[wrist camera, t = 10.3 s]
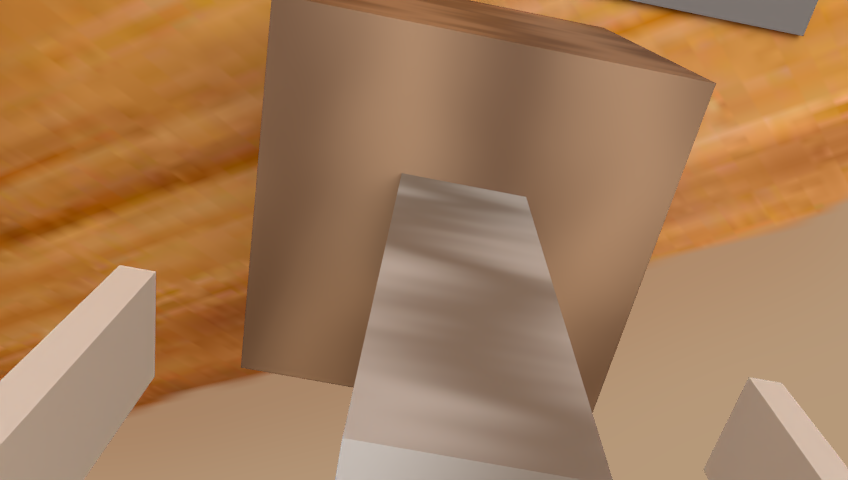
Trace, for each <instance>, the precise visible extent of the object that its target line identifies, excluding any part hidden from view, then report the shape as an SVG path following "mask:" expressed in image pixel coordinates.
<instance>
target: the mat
mask: <svg viewBox="0 0 848 480" xmlns="http://www.w3.org/2000/svg"><path fill="white" fill-rule="evenodd" d="M631 1H636V2H641V3H646V4H651V5H656V6H660V7H665V8H670V9H675V10H680V11H685V12H689V13H694V14H699V15H704V16H709V17H714V18H718V19H723V20H728V21H733V22H738V23H743V24H747V25H752V26H757V27H762V28H767V29H772V30H776V31H781V32H786V33H791V34H796V35H801V36H803V35H804V33H805V30H806V28H807V25H808V23H809V21H810V18H811V16H812V14H813V11H814V9H815V6H816V4H817V2H818V0H631Z"/></svg>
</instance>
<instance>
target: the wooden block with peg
mask: <svg viewBox="0 0 848 480" xmlns="http://www.w3.org/2000/svg"><path fill="white" fill-rule="evenodd" d="M715 85H716V83H714V82H712V81H710V80H708V79H706V78H704V77H702V76H700V75H698V74H696V73H694V72H692V71H690V70H688V69H686V68H684V67H682V66H680V65H678V64H676V63H674V62H672V61H670V60H668V59H666V58H663V57H661V56H659V55H657V54H655V53H653V52H651V51H649V50H647V49H645V48H643V47H641V46H639V45H637V44H635V43H633V42H631V41H629V40H627V39H625V38H623V37H621V36H619V35H617V34H615V33H613V32H611V31H609V30H607V29H605V28H601V27H597V26H592V25H587V24H582V23H577V22H572V21H567V20H562V19H557V18H553V17H548V16H543V15H538V14H533V13H528V12H523V11H518V10H513V9H509V8H504V7H499V6H494V5H489V4H484V3H479V2H474V1H469V0H272V2H271V14H270V26H269V38H268V50H267V62H266V74H265V86H264V98H263V110H262V122H261V134H260V146H259V158H258V170H257V182H256V194H255V206H254V218H253V230H252V241H251V253H250V265H249V277H248V289H247V301H246V313H245V325H244V337H243V349H242V361H241V368H247V369H252V370H258V371H264V372H269V373H275V374H281V375H286V376H292V377H298V378H303V379H309V380H315V381H320V382H326V383H331V384H338V385H343V386H348V387H354V388H353V392H352V397H351V402H350V406H349V410H348V415H347V419H346V424H345V428H344V433H343V437H342V442H341V448H340V454H339V460H338V466H337V471H336V477H335V480H613V479H612V476H611V473H610V470H609V467H608V463H607V460H606V457H605V453H604V450H603V447H602V444H601V440H600V437H599V434H598V431H597V427H596V424H595V421H594V417H593V414H592V413H593V410H594V407H595V404H596V402H597V399H598V396H599V394H600V391H601V389H602V386H603V383H604V381H605V378H606V375H607V373H608V370H609V367H610V364H611V362H612V359H613V357H614V354H615V351H616V349H617V346H618V343H619V341H620V338H621V335H622V333H623V330H624V327H625V325H626V322H627V319H628V317H629V314H630V311H631V309H632V306H633V303H634V300H635V298H636V295H637V293H638V290H639V287H640V285H641V282H642V279H643V277H644V274H645V271H646V269H647V266H648V263H649V261H650V258H651V255H652V253H653V250H654V247H655V245H656V242H657V239H658V237H659V234H660V231H661V229H662V226H663V223H664V221H665V218H666V215H667V213H668V210H669V207H670V205H671V202H672V199H673V197H674V194H675V191H676V189H677V186H678V183H679V181H680V178H681V175H682V173H683V170H684V167H685V165H686V162H687V159H688V157H689V154H690V151H691V149H692V146H693V143H694V141H695V138H696V135H697V133H698V130H699V127H700V125H701V122H702V119H703V117H704V114H705V111H706V109H707V106H708V103H709V101H710V98H711V95H712V93H713V90H714V87H715Z"/></svg>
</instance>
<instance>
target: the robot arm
mask: <svg viewBox="0 0 848 480" xmlns="http://www.w3.org/2000/svg"><path fill="white" fill-rule="evenodd" d="M155 314H156V271H150V270H145V269H139V268H133V267H128V266H122V265H119V266H118V267H117V268H116V269H115V270H114V271H113V272H112V273H111V274H110V275H109V276H108V277H107V278H106V279H105V280H104V281H103V282H102V283H101V284H100V285H99V286H98V287H97V288H96V289H95V290H93V291H92V292H91V293H90V294H89V295H88V296H87V297H86V298H85V299H84V300H83V301H82V302H81V303H80V304H79V305H78V306H77V307H76V308H75V309H74V310H73V311H72V312H71V313H70V314H69V315H68V316H67V317H66V318H65V319H64V320H63V321H61V322H60V323H59V324H58V325H57V326H56V327H55V328H54V329H53V330H52V331H51V332H50V333H49V334H48V335H47V336H46V337H45V338H44V339H43V340H42V341H41V342H40V343H39V344H38V345H37V346H36V347H35V348H34V349H33V350H32V351H30V352H29V353H28V354H27V355H26V356H25V357H24V358H23V359H22V360H21V361H20V362H19V363H18V364H17V365H16V366H15V367H14V368H13V369H12V370H11V371H10V372H9V373H8V374H7V375H6V376H5V377H4V378H3V379H2V380H1V381H0V480H84V479H85V477H86V476H87V475H88V473H89V472H90V470H91V469H92V467H93V466H94V464H95V463H96V461H97V460H98V458H99V457H100V456H101V454H102V452H103V451H104V450H105V448H106V447H107V445H108V444H109V442H110V441H111V439H112V438H113V437H114V435H115V434H116V432H117V431H118V429H119V428H120V426H121V425H122V423H123V422H124V420H125V419H126V417H127V416H128V415H129V413H130V412H131V410H132V409H133V407H134V406H135V404H136V403H137V401H138V400H139V398H140V397H141V395H142V394H143V393H144V391H145V390H146V388H147V387H148V385H149V384H150V382H151V381H152V379H153V378H154V376H155ZM704 471H705V473H706V475H707V477H708V479H709V480H848V468H847V466H846V465H845V464H844V463H843V461H842V460H841V458H840V457H839V456H838V455H837V453H836V452H835V451H834V449H833V448H832V447H831V446H830V444H829V443H828V442H827V440H826V439H825V438H824V437H823V435H822V434H821V433H820V431H819V430H818V429H817V428H816V426H815V425H814V424H813V422H812V421H811V420H810V419H809V417H808V416H807V415H806V413H805V412H804V411H803V410H802V408H801V407H800V406H799V405H798V403H797V402H796V401H795V399H794V398H793V397H792V395H791V394H790V393H789V392H788V390H787V389H786V388H785V386H784V385H783V384H782V383H779V382H773V381H767V380H762V379H757V378H751V377H749V378H748V380H747V382H746V384H745V386H744V389H743V390H742V392H741V394H740V396H739V398H738V401H737V403H736V405H735V407H734V409H733V411H732V413H731V415H730V417H729V419H728V421H727V423H726V425H725V427H724V429H723V431H722V433H721V435H720V437H719V439H718V441H717V443H716V445H715V448H714V450H713V451H712V453H711V455H710V458H709V460H708V462H707V464H706V466H705V468H704Z"/></svg>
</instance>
